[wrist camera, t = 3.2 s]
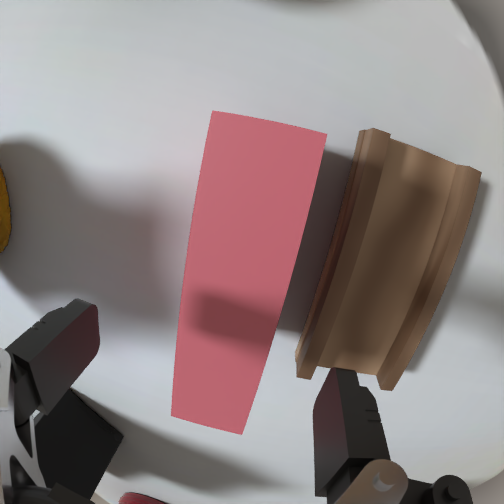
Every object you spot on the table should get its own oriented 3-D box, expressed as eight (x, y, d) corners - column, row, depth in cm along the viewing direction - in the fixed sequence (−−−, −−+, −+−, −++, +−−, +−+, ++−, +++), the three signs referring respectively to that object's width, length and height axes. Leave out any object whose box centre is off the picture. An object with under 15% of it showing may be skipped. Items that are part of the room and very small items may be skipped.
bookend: (73, 457, 41) (23, 539, 19) (30, 419, 40) (-29, 497, 18) (126, 435, 35) (60, 564, 12) (67, 383, 33) (-25, 504, 11)
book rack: (459, 168, 20) (482, 172, 16) (384, 366, 26) (393, 390, 23) (359, 131, 20) (371, 127, 17) (295, 351, 26) (295, 376, 23)
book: (306, 144, 21) (327, 134, 10) (262, 324, 26) (242, 434, 15) (252, 132, 21) (212, 110, 10) (216, 313, 26) (171, 415, 15)
